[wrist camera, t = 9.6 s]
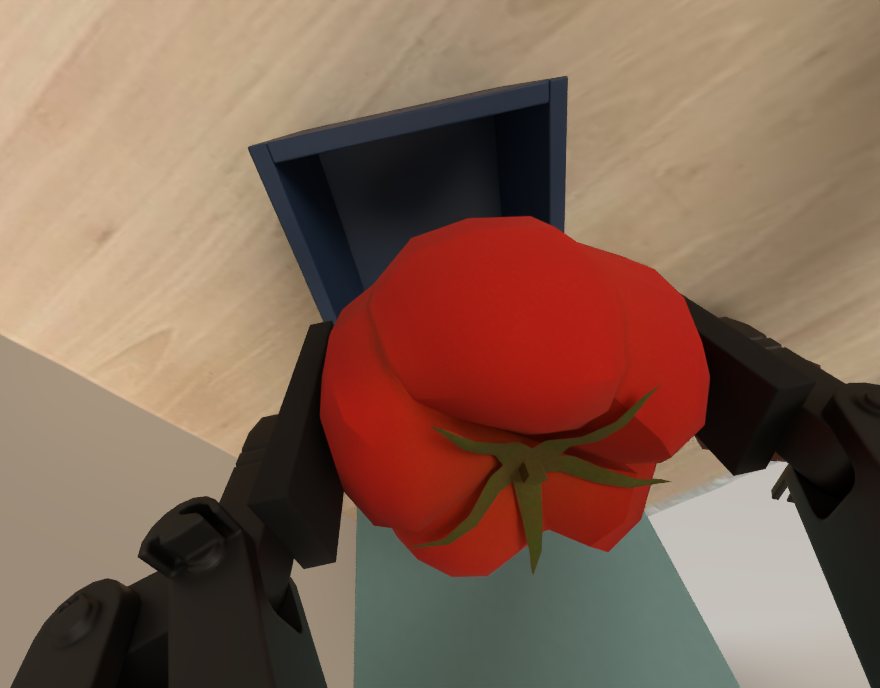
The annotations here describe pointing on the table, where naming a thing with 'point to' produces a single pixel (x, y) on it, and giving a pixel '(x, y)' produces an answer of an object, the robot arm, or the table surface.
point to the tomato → (509, 392)
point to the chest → (413, 179)
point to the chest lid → (531, 619)
